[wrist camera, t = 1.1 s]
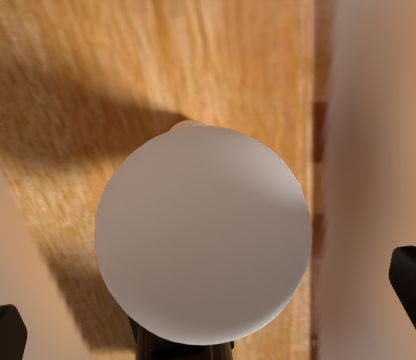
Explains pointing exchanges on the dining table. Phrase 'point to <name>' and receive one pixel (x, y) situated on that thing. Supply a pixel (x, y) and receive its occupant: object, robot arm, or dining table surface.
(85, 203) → the dining table surface
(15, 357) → the robot arm
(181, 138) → the lightbulb
